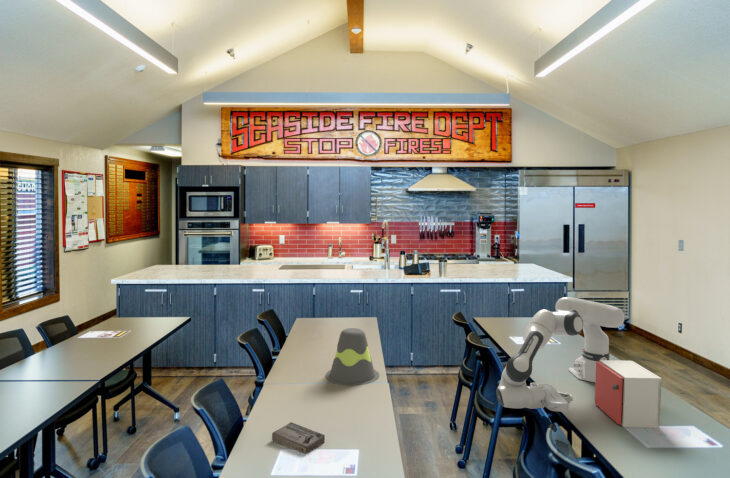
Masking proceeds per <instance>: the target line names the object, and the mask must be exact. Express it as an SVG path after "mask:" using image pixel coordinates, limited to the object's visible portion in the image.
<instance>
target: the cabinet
mask: <svg viewBox="0 0 730 478" xmlns="http://www.w3.org/2000/svg"><path fill="white" fill-rule="evenodd" d="M600 363H602V364H603V365H605V366H606V367H608V368H609V369H610V370H612V371H613V372H615V373H616V374H618V375H619V376H621V377H622V378H623V386H622V412H621V425H620V426H622V427H623V428H645V429H646V428H652V429H654V428H655V429H659V428H660V424H661V404H662V402H661V401H662V377H660V376H659V375H657V374H655V373H654V372H652V371H650V370H648V369H647V368H646V367H643V366H641V365H640V364H638V363H637V362H635V361H633V360H616V359H615V360H613V359H611V360H610V359H609V360H600Z"/></svg>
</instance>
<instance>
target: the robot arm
mask: <svg viewBox="0 0 730 478" xmlns="http://www.w3.org/2000/svg"><path fill="white" fill-rule="evenodd" d="M554 308H555V311H550V310H548V309H539V310H538V311H537V312H536V313H535V314H534V315H533V316H532V317H531V319H530V321H529V322H528V324H527V325H526V327H525V329H524V332H523V335H522V340H523V342H524V343H523V344H522V346H521V347H520V349H519V350H518V352H517V353H516V354H514V355H513V356H511V357H510V358H508V360H507V362H506V365H505V367H504V369H503V371H502V373H501V379H500V382H499V384H498V386H497V388H496V389H495V390H496V399H497V402H498V403H499V405H501V406H502V407H504V408H509V409H525V408H527V409H535V410H536V409H537V408H541V407H542V409H544V408H546V409H548V410H549V411H551V412H561V413H567V412H568V411H569V405H570V403H571V402H573V401H574V398H573V396H572V397H571V396H570V395H569V394H570V393H566V394H564V393H565V392H562V393H560V392H561V391H558V390H557V389H556V388H555V387H553V385H552V384H549V383H536V382H530V384H529V385H527V382H526V381H527V380H528V378H530V377H531V375H532V374H533V373H532V371H533V361H534V359H535V356H536V355H537V353H538V351H539V350H542V349H544V348H545V346H546V345H547V344H548V343H549V341H550V340H551V338H552V336H553V335H554V336H571V337H572V336H578V335H580V334H581V333H582V331H583V334H584V335H583V336H584V349H581V352H582V354H581V356H579V357H577V358H576V359H574V362H573V366H572V367H569V368H568V372H570V373H571V374H572V375H573V376H574V377H576V378H577V380H581V381H587V382H589V383H590V382H591V383H595V380H596V361H599V362H600V360H610V351H609V349H610V348H609V346H610V339H609V336H608V335H607V333H605V332H604V331H603V330H602V327H605V328H614V329H615V328H616V329H617V328H620V327H621V326H623V324H624V322H625V318H626V317H625V313H624V311H623V310H622V309H621V308H619V307H616V306H614V305H611V304H606V303H601V302H597V301H592V300H587V299H583V298H578V297H573V296H572V297H571V296H564V297H561V298H558V300H557V301H556V302H555V307H554ZM568 402H570V403H568ZM542 409H541V410H542Z"/></svg>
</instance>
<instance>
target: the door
mask: <svg viewBox="0 0 730 478" xmlns="http://www.w3.org/2000/svg"><path fill="white" fill-rule="evenodd" d="M594 383H595V384H594V385H595V386H594V404H595V405H596V406H597V407H598V408H599V409H600V410H601V411H603V413H605V414H606V415H607V416H608V417H610V419H612V420H613V422H614V423H616V424H617V425H618V426H619V425H620V426H622V425H621V412H622V386H623V378H622V377H621V376H619V375H618V374H616V373H615V372H613V371H612V370H610V369H609V368H608V367H606V366H605V365H603V364H602V363H600V362H599V361H596V380H595V382H594Z"/></svg>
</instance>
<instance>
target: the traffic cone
mask: <svg viewBox="0 0 730 478" xmlns="http://www.w3.org/2000/svg"><path fill="white" fill-rule="evenodd" d="M336 347H337V348H336V351H335V355H334V359H333V361H332V364H331V367H330V368H331V369H330V370H328V371H327V372H326V373H325V378H326V379H327V381H329V382H330V383H333V384H336V385H341V386H362V385H368V384H371V383H373V382H375V381H377V380H378V379H379V378H380V373H379V371H377V370H375V368H374V364H373V360H372V357H371V354H370V350H369V343H368V340H367V336H366V333H365V331H364V330H363V329H361V328H357V327H356V328H355V327H352V328H344V329H343V330H342V331H341V332H340V334H339V338H338V342H337V345H336Z"/></svg>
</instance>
